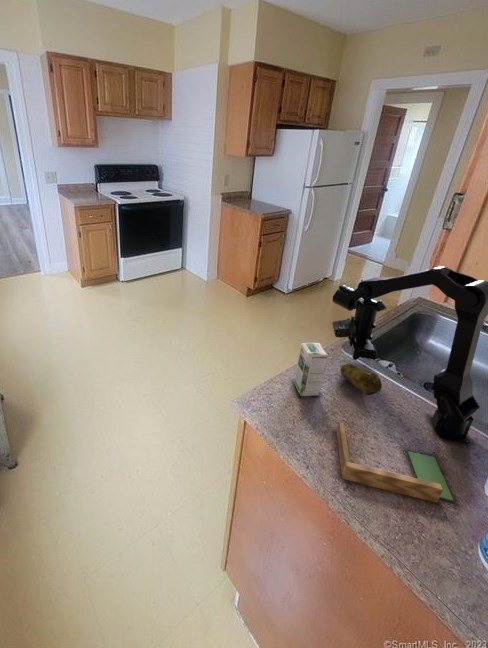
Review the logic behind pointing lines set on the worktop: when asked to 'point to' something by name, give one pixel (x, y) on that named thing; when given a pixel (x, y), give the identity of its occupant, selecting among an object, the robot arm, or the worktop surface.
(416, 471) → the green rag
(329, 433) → the worktop surface
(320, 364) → the syrup box
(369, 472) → the corner guard
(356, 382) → the olive green tapered piece
